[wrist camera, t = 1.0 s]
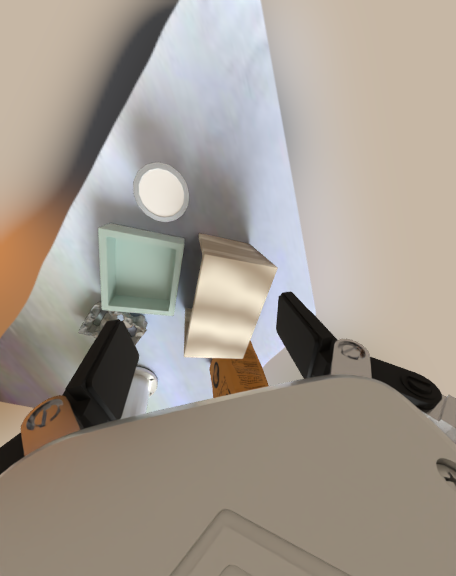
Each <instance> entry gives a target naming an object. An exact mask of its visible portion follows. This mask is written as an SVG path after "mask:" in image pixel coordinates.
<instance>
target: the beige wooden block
mask: <svg viewBox="0 0 456 576" xmlns="http://www.w3.org/2000/svg"><path fill="white" fill-rule="evenodd" d="M198 238H199V243H200V247H201V251H202V261H201V266H200V272H199V277H198V282H197V287H196V292H195V297H194V302H193V307H192V309H191V308H185V332H184V357H196V358H232V359H243V357H244V355H245V352H246V349H247V347H248V344H249V341H250V339H251V336H252V334H253V331H254V328H255V326H256V323H257V321H258V318H259V315H260V313H261V310H262V308H263V305H264V302H265V300H266V297H267V294H268V292H269V289H270V287H271V284H272V281H273V279H274V276H275V274H276V271H277V267H276V266H275V265H274V264H273V263H271V262H270V261H269V260H268V259H267V258H266V257H264V256H263V255H262V254H261V253H260V252H259V251H257V250H256V249H255V248H254V247H253V246H251V245H250V244H248V243H243V242H239V241H234V240H230V239H225V238H220V237H216V236H211V235H207V234H202V233H199V235H198Z"/></svg>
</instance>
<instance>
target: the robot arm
mask: <svg viewBox="0 0 456 576" xmlns="http://www.w3.org/2000/svg"><path fill="white" fill-rule="evenodd" d="M276 330H277V333H278V335H279V337H280V338H281V340H282V342H283V344H284V345H285V347H286V349H287V350H288V352H289V354H290V356H291V357H292V359H293V361H294V362H295V364H296V366H297V368H298V369H299V371H300V373H301V375H302V376H303V378H304V379H302V380H296V381H291V382H286V383H281V384H277V385H272V386H267V387H263V388H258V389H253V390H249V391H244V392H239V393H235V394H230V395H226V396H221V397H216V398H212V399H207V400H203V401H198V402H194V403H189V404H185V405H180V406H176V407H171V408H167V409H163V410H158V411H154V412H149V413H146V410H147V404H148V399H149V397H150V396H151V395H152V394H153V393H154V392H155V391H156V389H157V384H158V381H157V378H156V376H155V375H154V374H153V373H152V372H151V371H149V370H147V369H145V368H142V367H136V366H137V363H138V360H139V354H138V351H137V349H136V347H135V345H134V343H133V341H132V338H131V336H130V334H129V332H128V330H127V328H126V325H125V323H124V322H123V321H120V320H119V319H117V320H111V321H107V322H106V323H105V325H104V326H103V328H102V330H101V331H100V333H99V335H98V336H97V338H96V340H95V341H94V343H93V345H92V346H91V348H90V349H89V351H88V353H87V354H86V356H85V358H84V359H83V361H82V363H81V364H80V366H79V368H78V369H77V371H76V372H75V374H74V376H73V377H72V379H71V381H70V382H69V384H68V386H67V387H66V390H65V392H64V393H63V395H58V396H54V397H51V398H48V399H47V400H45V401H43V402H41V403H40V404H39V405H37V406H36V407H35V408H34V409H33V410H32V411H31V412H30V413H29V414H28V415H27V416H26V418H25V419H24V421H23V423H22V425H21V433H19V434H18V435H17V436H15V437H14V438H13V439H11V440H10V441H9V442H7V443H6V444H4V445H3V446H2V447H0V576H456V398H454V397H452V396H450V395H448V396H447V397H446V396H444V395H442V394H441V392H440V390H439V389H438V388H437V387H436V385H435V384H433V383H432V382H431V381H430V380H428V379H426V378H425V377H424V376H422V375H419V374H417V373H415V372H412V371H409V370H406V369H403V368H401V367H398V366H395V365H392V364H389V363H387V362H384V361H381V360H378V359H375V358H372V357H370V355H369V352H368V350H367V349H366V348H365V347H364V346H363V345H361V344H359V343H358V342H356V341H353V340H350V339H340V340H337V339H336V338H335V337H334V336H333V335H332V334H331V332H330V331H329V330H328V329H327V328H326V327H325V326H324V325H323V324H322V323H321V322H320V321H319V320H318V319H317V317H316V316H315V315H314V314H313V313H312V312H311V311H310V310H308V309H307V308H306V307H305V305H304V304H303V303H302V302H301V301H300V300H299V299H298V298H297V297H296V296H295V295H294V294H293V293H292V292H285V293H282V294H281V296H279V300H278V312H277V324H276Z"/></svg>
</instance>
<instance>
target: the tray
mask: <svg viewBox="0 0 456 576" xmlns="http://www.w3.org/2000/svg"><path fill="white" fill-rule="evenodd" d="M98 238H99V260H100V282H101V303H102V310H108V311H120V312H131V313H143V314H154V315H166V316H174V310H175V303H176V297H177V290H178V283H179V277H180V270H181V263H182V257H183V250H184V241H185V238H181V237H176V236H171V235H166V234H161V233H156V232H151V231H146V230H142V229H137V228H132V227H127V226H122V225H117V224H112V223H108V224H106V225H104V226H101V227H99V228H98Z"/></svg>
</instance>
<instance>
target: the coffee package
mask: <svg viewBox="0 0 456 576" xmlns="http://www.w3.org/2000/svg"><path fill="white" fill-rule="evenodd" d="M210 375H211V381H212V388H213V398H216V397H221V396H226V395H230V394H235V393H239V392H244V391H249V390H253V389H258V388H263V387H267V386H268V383H267V380H266V377H265V374H264V371H263V369H262V366H261V364H260V362H259V359H258V357H257V355H256V353H255V351H254V349H253V346H252V343H251V341H249V344H248V347H247V349H246V352H245V355H244V357H243V359H232V358H213V359H212V362H211V365H210Z"/></svg>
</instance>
